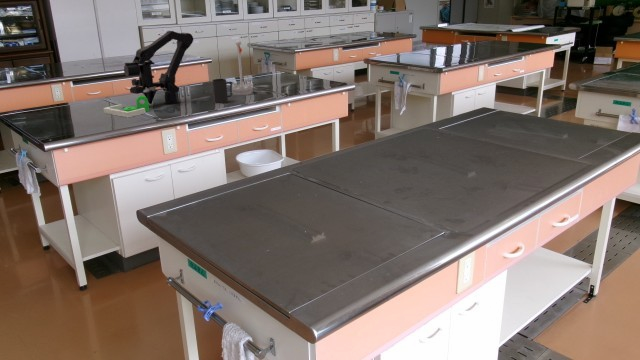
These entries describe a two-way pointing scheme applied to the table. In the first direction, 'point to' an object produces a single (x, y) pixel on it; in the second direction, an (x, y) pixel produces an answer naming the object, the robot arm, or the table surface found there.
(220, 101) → the mug
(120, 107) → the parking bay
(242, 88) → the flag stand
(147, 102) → the mechanical part
